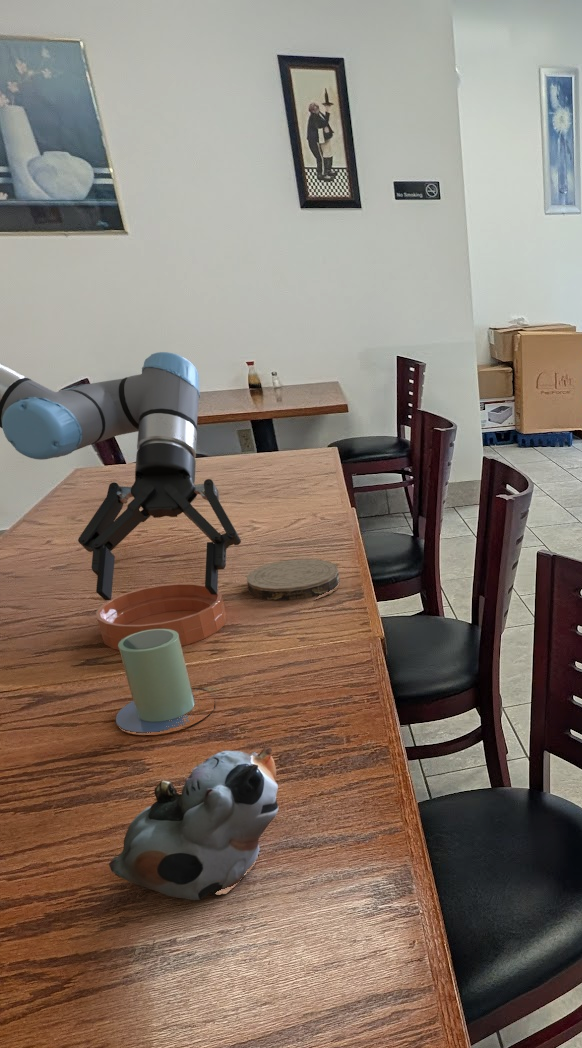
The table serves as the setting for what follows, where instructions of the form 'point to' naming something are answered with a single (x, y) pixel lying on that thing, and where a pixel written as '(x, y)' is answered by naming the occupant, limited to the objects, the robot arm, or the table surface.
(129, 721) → the coaster
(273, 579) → the wood slice
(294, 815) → the table surface
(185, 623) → the bowl
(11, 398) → the robot arm
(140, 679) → the cup
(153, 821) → the lucky cat figurine
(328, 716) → the table surface
